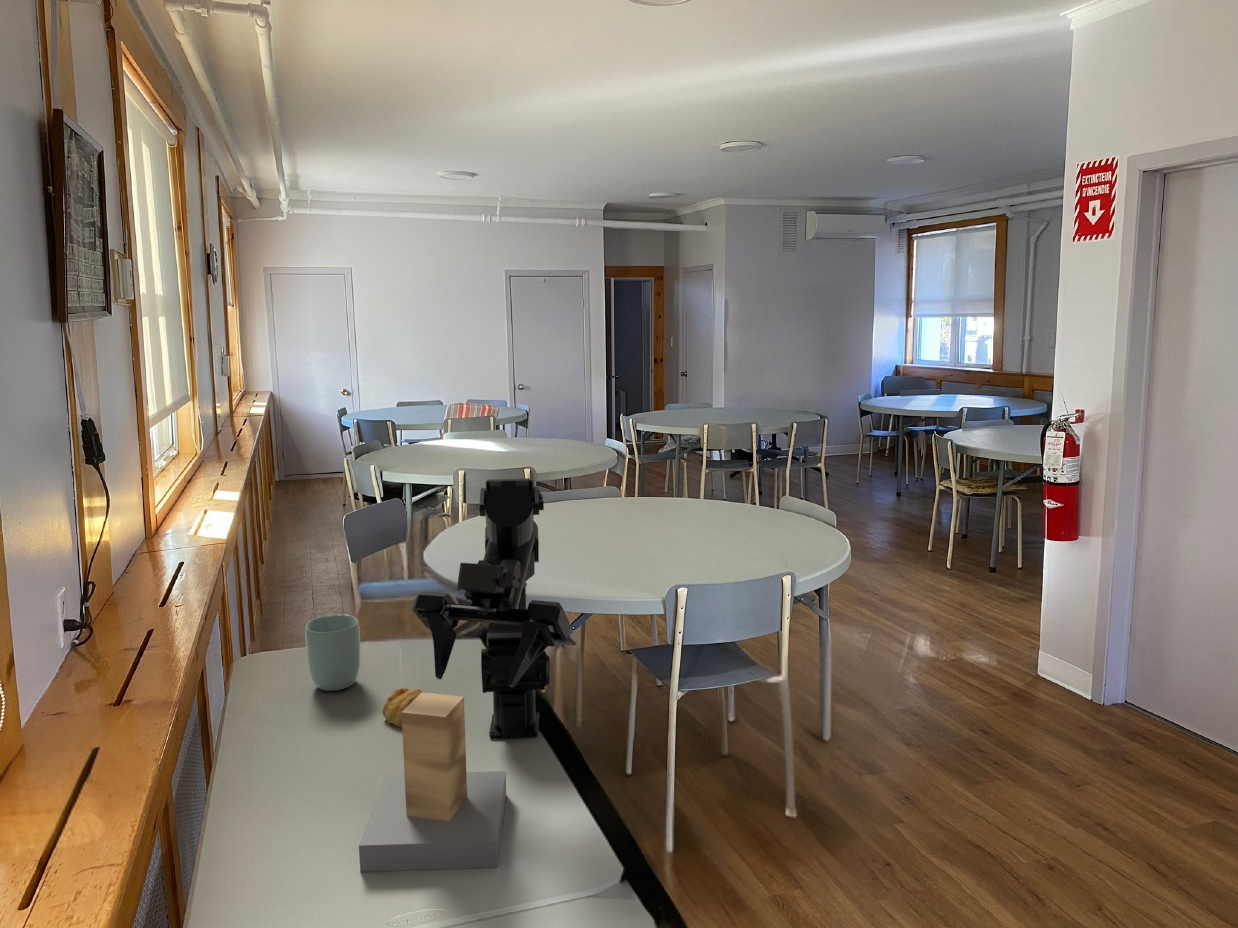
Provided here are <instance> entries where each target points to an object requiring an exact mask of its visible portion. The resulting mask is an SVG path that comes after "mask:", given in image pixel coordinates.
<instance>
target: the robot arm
mask: <svg viewBox="0 0 1238 928" xmlns="http://www.w3.org/2000/svg"><path fill="white" fill-rule="evenodd" d="M533 482H534V480H533V479H532V478H529V477H528V478H525V477H524V478H489V479H487V480H485V487H480V492H479V504H478V506H479V516H480V517H485V523H486V524H485V528H484V531H485V532H484V550H485V553H484V556H483V559H479V560H478V561H477V563H474V562H473V563H472V562H471V563H470V562H460V563H459V564H460V565H459V570H458V576H457V577H458V578H457V584H456V590H458V591H461V590H463V591H465V592H464V595H463V596H464V597H465V599H466V600H467V601H471V602H470V604H461V603H456V602H455V601H454V599H453V597H452V596H451V595H450V593H448V592H436V591H422V592H420V593H419V594H417V596H416V597H415V600H414V602H413V605H412V607H411V609H412V611H413V613H414V614H415V615H416V616H417V618H418V619H419V620H420V622H421V623H422V624H423V625H424V627H426V628H427V629H429V631H430V632H431V636H432V643H433V644H432V645H433V658H434V675H435V678H436V679H437V680H442V679H443V676H444V674H445V672H446V671H447V670H446V669H447V667H448V664H449V660H450V658H451V654H452V650H453V649H454V646H455V642H456V638H457V632H456V631H455V630H454V629H455V628H456V627H458V625H459V623H460V621H464V622H478V623H486V624H487V623H488V629H487V631H488V632H487V633H486V648H481V651H480V654H481V655H480V656H481V658H480V659H481V660H480V666H481V686H482V688H481V689H482V694H486V693H492V701H493V705H492V706H493V709H492V710H493V713H492V716H491V721H490V727H489V735H488V737H489V738H492V739H495V738H499V739H500V738H530V737H531V738H535V737H538V735H539V722H540V712H538V711H536V691H538V690H540V691H545V690H546V687H547V686H549V685H550V658H551V657H550V656H549V654H547V652H546V649H547V648H548V647H555V646H556V643H557V642H566V641H567V640H568V636H569V633H570V631H569V630H570V620H569V618H568V616H567V614H566V612H565V610H564V608H563V606H562V605H561V604H560V602H558V601H551V600H550V601H548V600H535V599H532V600H531V601H530V602H529V603H528V605H527V593H526V592H527V589H526V588H527V584H528V583H527V581H528V580H530V579H531V578H532V577H533V576H534V575H535V571H536V570H535V566H536V565H535V563H539V561H540V560H539V559H540V555H539V552H540V550H539V549H540V547H539V546H540V545H539V543H540V542H539V526H538V524H537V523H536V521H535V520H534V516H540V511H544V510H545V507H544V506H545V505H544V495H543V494H542V493H541V492H540V489H539V486H537V485H536V486H535V485H534V483H533ZM533 485H534V486H533Z"/></svg>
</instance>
